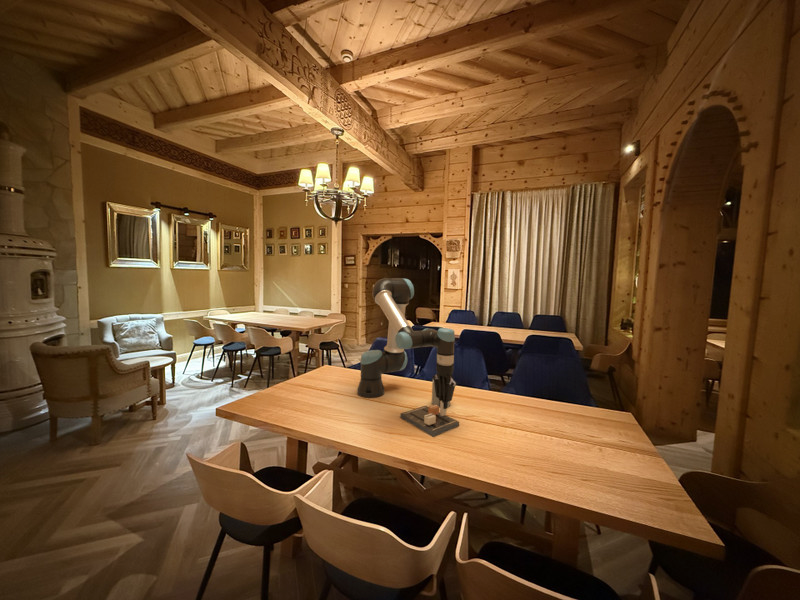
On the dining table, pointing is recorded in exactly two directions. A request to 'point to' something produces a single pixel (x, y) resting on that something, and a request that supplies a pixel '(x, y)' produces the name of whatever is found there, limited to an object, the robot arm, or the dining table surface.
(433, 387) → the grey speckled cylinder
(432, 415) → the fader ivory
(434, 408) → the fader terracotta
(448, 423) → the console
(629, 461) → the dining table surface
